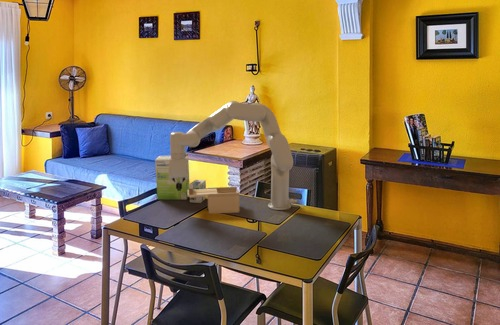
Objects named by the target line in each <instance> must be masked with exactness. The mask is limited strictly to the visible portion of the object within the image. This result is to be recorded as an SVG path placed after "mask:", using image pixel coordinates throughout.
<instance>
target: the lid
mask: <svg viewBox="0 0 500 325" xmlns="http://www.w3.org/2000/svg"><path fill="white" fill-rule="evenodd" d="M215 193H217V189H207V188H206V189H193V184H190V183H189V190H187V195H188V198H190V197H196V196H206V197H208V196H209V194H215Z"/></svg>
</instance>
